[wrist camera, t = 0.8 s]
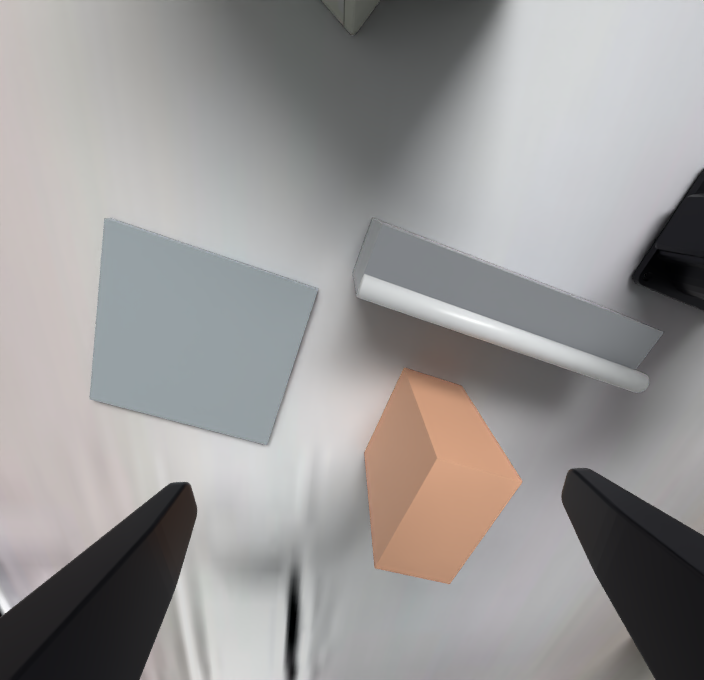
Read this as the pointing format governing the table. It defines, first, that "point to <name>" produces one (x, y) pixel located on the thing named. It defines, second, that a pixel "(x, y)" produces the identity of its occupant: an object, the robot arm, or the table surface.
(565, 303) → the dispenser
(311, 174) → the table surface
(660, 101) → the table surface
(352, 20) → the digital clock
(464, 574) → the table surface
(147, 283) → the mat
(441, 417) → the peach rectangular block
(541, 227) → the table surface
